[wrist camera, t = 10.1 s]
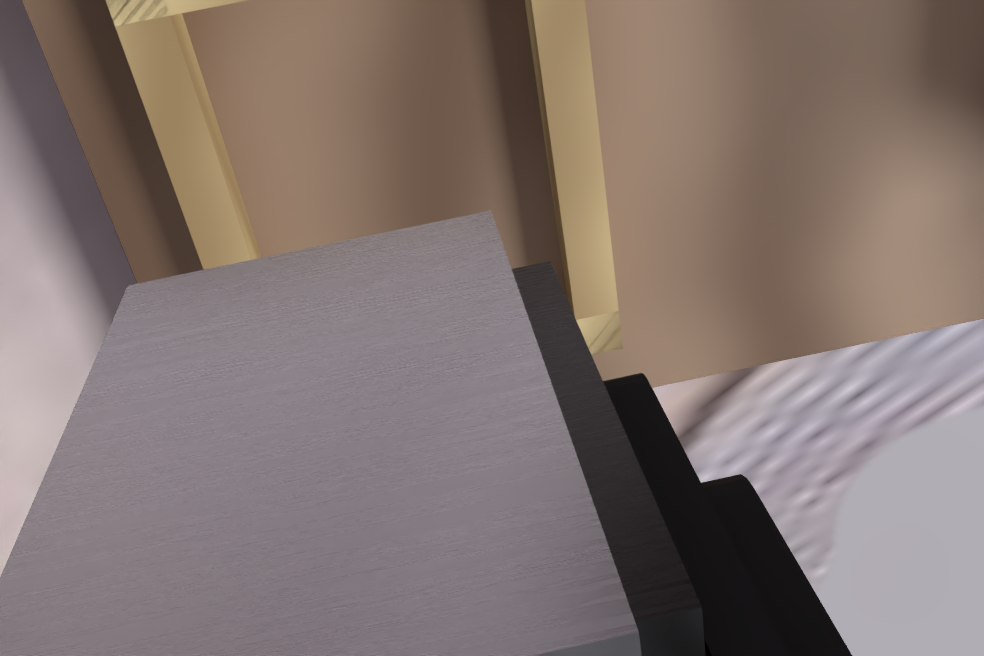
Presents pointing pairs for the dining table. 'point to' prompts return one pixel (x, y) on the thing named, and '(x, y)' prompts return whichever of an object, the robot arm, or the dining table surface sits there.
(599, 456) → the grey thick square block
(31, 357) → the dining table surface
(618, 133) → the brown flat board
